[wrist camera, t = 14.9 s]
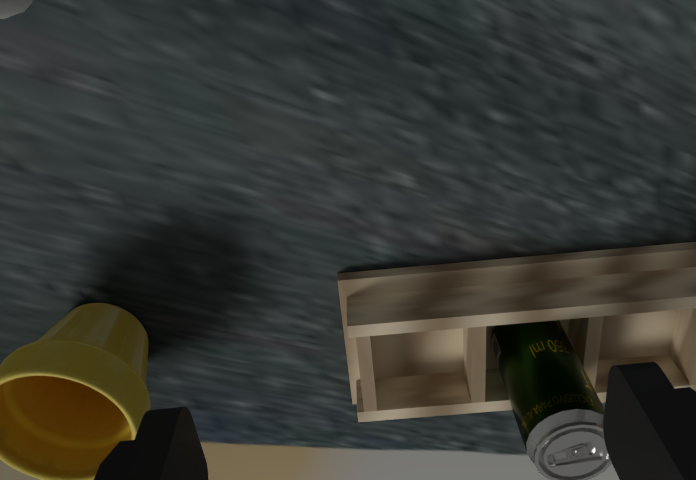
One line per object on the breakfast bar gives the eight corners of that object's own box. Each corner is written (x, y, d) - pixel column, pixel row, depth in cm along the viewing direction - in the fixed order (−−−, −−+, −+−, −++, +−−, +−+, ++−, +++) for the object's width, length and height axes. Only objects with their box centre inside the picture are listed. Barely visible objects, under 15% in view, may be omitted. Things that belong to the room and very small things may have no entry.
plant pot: (87, 403, 52) (39, 504, 44) (7, 309, 48) (-64, 402, 39) (197, 364, 51) (168, 461, 42) (125, 262, 46) (77, 348, 37)
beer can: (497, 365, 50) (539, 494, 39) (481, 313, 47) (522, 435, 37) (565, 347, 49) (627, 473, 39) (552, 292, 47) (615, 411, 36)
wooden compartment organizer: (710, 240, 46) (745, 273, 42) (683, 368, 52) (711, 408, 48) (337, 273, 47) (337, 309, 43) (352, 395, 52) (353, 436, 49)
